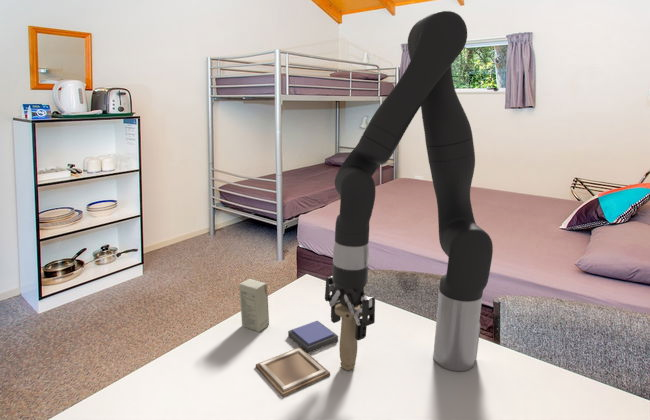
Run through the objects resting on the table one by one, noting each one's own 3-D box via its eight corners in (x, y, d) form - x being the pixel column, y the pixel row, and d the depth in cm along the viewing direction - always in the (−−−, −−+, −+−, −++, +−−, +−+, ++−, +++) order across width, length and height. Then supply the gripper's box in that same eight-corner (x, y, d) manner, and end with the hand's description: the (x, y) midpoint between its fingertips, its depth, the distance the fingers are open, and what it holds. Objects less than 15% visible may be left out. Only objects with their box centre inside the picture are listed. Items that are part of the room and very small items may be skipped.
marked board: (300, 349, 103) (300, 345, 103) (330, 375, 94) (330, 371, 93) (255, 366, 96) (255, 362, 96) (282, 396, 87) (282, 392, 87)
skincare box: (269, 325, 113) (268, 283, 110) (258, 332, 110) (257, 289, 107) (251, 318, 117) (250, 277, 113) (240, 325, 113) (238, 283, 110)
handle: (360, 375, 94) (362, 314, 90) (331, 371, 95) (332, 310, 91) (363, 362, 98) (365, 303, 94) (336, 358, 100) (337, 300, 95)
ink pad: (317, 325, 114) (317, 318, 113) (338, 341, 106) (338, 334, 106) (288, 336, 108) (288, 329, 108) (308, 353, 101) (308, 345, 101)
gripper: (387, 269, 86) (382, 339, 91) (343, 247, 97) (341, 311, 102) (358, 277, 82) (354, 351, 86) (316, 254, 93) (315, 320, 97)
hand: (347, 329), depth 94 cm, fingers open, 8 cm apart
